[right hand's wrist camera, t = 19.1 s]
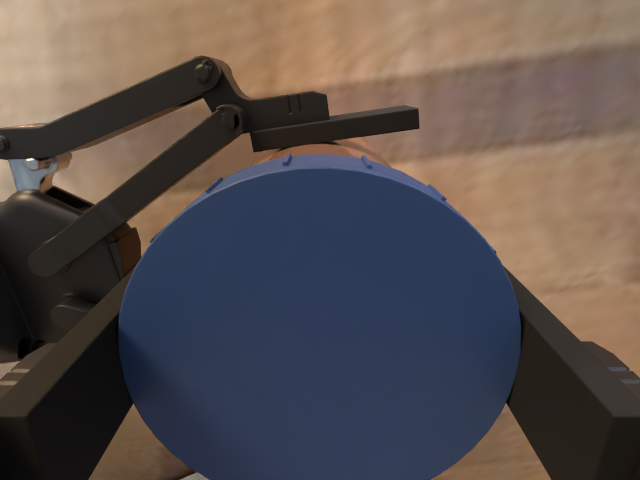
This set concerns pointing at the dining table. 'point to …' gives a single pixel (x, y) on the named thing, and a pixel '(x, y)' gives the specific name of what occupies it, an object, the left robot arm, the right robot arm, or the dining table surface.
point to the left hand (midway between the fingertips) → (418, 228)
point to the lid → (319, 326)
